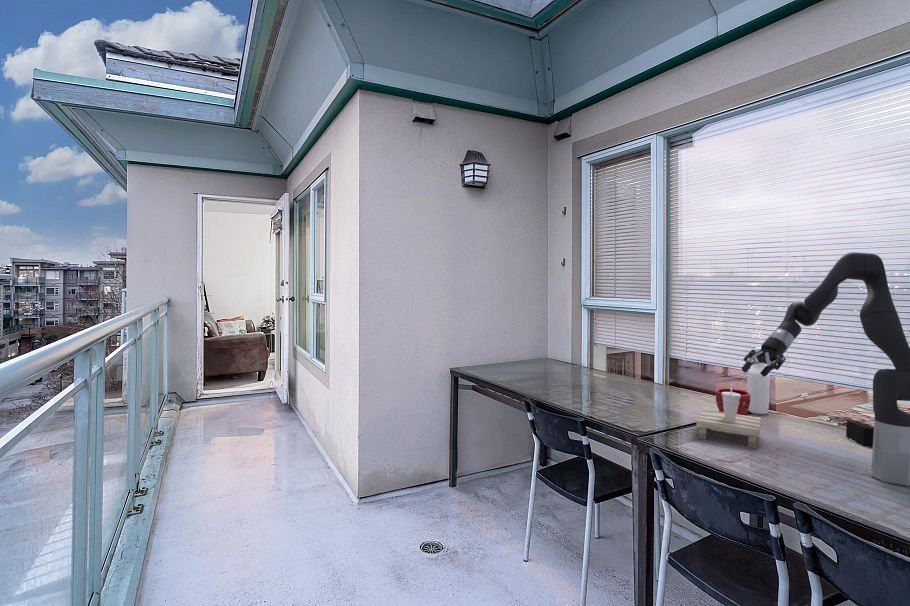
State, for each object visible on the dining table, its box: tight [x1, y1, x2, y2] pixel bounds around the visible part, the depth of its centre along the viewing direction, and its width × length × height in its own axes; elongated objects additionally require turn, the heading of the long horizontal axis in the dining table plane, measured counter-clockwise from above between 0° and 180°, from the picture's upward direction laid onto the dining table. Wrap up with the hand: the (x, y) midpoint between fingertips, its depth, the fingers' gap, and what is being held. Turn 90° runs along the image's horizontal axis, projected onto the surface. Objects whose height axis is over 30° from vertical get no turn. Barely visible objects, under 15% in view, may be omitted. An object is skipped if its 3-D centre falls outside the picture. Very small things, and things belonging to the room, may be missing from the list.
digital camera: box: [845, 420, 874, 448], centre depth 181 cm, size 10×5×7 cm, turn 170°
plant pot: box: [715, 388, 750, 416], centre depth 212 cm, size 13×13×12 cm
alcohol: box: [746, 346, 771, 416], centre depth 223 cm, size 9×9×30 cm
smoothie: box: [722, 382, 741, 420], centre depth 183 cm, size 6×6×14 cm
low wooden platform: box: [696, 409, 762, 449], centre depth 184 cm, size 20×20×7 cm
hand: (752, 372), depth 185 cm, fingers open, 8 cm apart
